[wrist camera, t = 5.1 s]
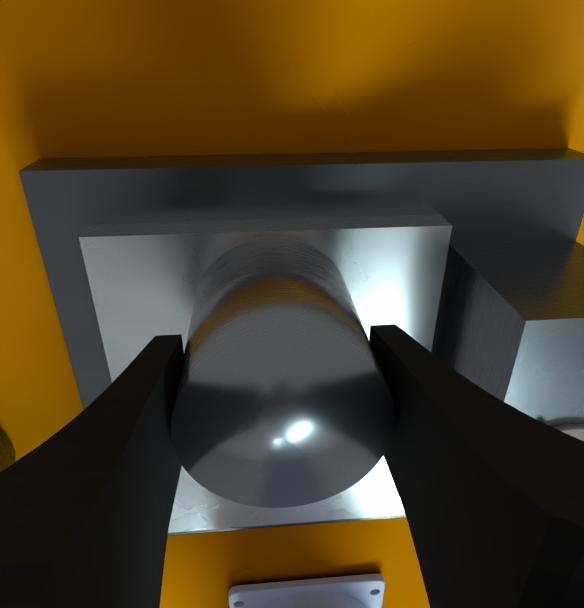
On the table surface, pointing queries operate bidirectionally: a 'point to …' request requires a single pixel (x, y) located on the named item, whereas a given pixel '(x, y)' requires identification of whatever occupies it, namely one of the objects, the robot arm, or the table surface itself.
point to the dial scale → (349, 261)
